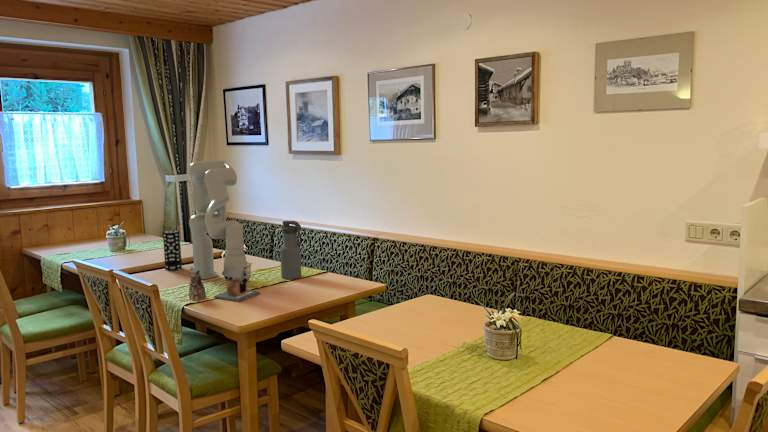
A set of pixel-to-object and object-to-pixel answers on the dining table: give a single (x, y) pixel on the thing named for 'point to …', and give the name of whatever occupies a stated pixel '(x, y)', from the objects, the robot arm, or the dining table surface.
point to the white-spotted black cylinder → (172, 250)
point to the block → (234, 287)
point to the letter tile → (237, 298)
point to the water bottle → (291, 251)
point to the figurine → (196, 287)
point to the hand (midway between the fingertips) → (237, 290)
